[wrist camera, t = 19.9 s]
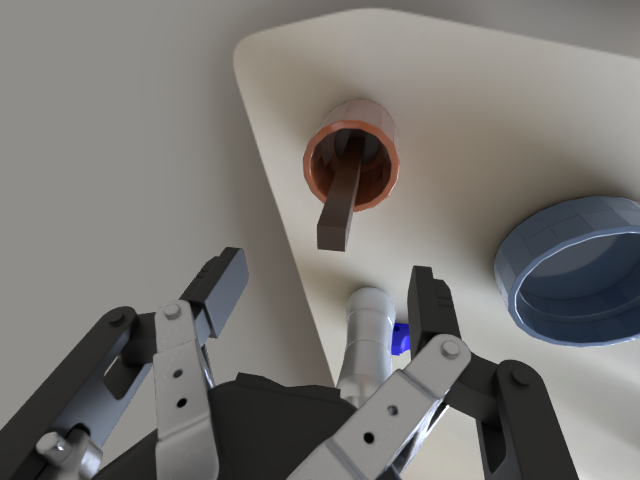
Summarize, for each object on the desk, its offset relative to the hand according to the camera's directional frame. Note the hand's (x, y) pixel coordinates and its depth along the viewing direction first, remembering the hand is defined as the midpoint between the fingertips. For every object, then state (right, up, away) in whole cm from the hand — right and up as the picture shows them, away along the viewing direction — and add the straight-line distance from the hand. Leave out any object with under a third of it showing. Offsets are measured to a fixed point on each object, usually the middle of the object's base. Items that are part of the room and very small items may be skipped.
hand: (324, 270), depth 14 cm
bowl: (+27, 0, +19) cm, 34 cm away
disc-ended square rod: (+4, +11, +16) cm, 20 cm away
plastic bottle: (+7, -7, +29) cm, 30 cm away
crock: (+4, +12, +16) cm, 20 cm away
